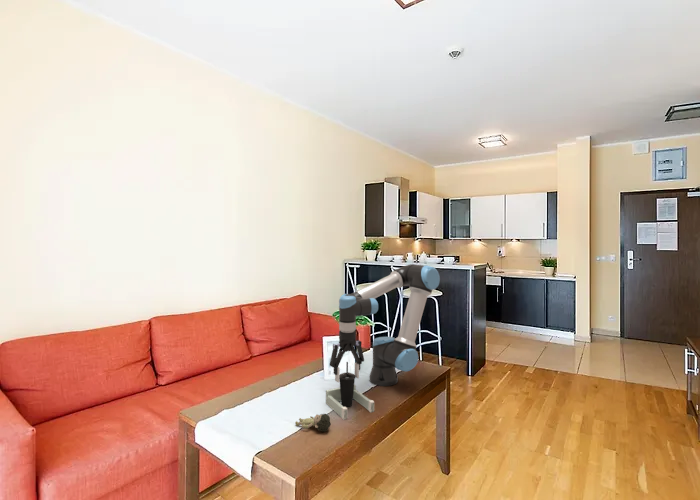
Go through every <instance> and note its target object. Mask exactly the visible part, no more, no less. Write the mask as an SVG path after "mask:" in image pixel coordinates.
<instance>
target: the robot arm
mask: <svg viewBox="0 0 700 500" xmlns="http://www.w3.org/2000/svg"><path fill="white" fill-rule="evenodd" d="M440 280H441V277H440V273H439V271H438V270H437V269H436V268H435V267H433V266H430V265H421V264H407V265H404V266H401V267H399V268H396V269H394V270H393V271H391V272H390V274H389V275H387V276H384V277H382V278H380V279H379V280H376V281H374V282H372V283H370V284H369V285H366V286H364V287H362V288H360V289H358V290H356V291H354V292H352V293H344V294H342V295H341V296H340V297H339V300H338V305H339V306H338V308H339V309H338V311H339V312H338V316H339V317H338V320H339V321H338V324H339V326H338V330H339V331H338V339H339V341H338V343H332V352H331V356H330V361H329V366H330V367H331V368H333V375H334V381H335V382H336V383H340V379H339V375H340V367H339V366H340V364H341V361H342V359H343V356H344V355H345V354H346V353H347V352H351V354H352V357H353V358H354V359H355V360H354V361H355V362H354V375H355V376H356V377H355V379H359V378H360V371H361V365H362V363H363V362H365V358H364V352H363V348H362V341H361V340H360V339H358V340H357V339H356V338H357V336H356V328H357V323H356V322H357V317H363V316H371V315H374V314H377V312H378V311H379V303H378V301H377V298H378V297H380V296H383V295H385V294H386V293H388V292H391V291H392V290H394V289H396V288H398V289H400V288H403V287H406V286H409V287H408V288H409V290H410V294H409V298H408V301H407V305H406V307H405V310H404V311H405V312H404V315H403V318H402V323H401V325H400V329H399V332H398V336H397V337H396V338H395V337H393V336H379V337H375V338H374V339H373V341H372V366H371V370H370V372H369V373H370V374H369V375H368V376H369V377H368V379H369V382H370V383H371V384H373V385H374V386H378V387H379V386H380V387H388V386H394V385H396V384H397V383H398V382H399V379H398V378H399V377H398V373H397V370H399V371H402V372H410V371H412V370H413V369H414V368H415V367H416V366H417V364H418V362H419V354H418V351H417V347H418V346H417V344H416V339H417V336H418V335H417V334H418V331H419V328H420V325H421V322H422V321H421V320H422V316H423V315H424V314H423V313H424V310H425V306H426V303H427V300H428V297H429V296H430V295H431V294H432V292H433V291H434V290H435V289H437V288H438V287H439V285H440V282H441V281H440ZM355 346H356V348H355ZM356 349H357V350H356Z"/></svg>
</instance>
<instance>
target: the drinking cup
mask: <svg viewBox="0 0 700 500" xmlns="http://www.w3.org/2000/svg"><path fill="white" fill-rule="evenodd" d="M355 380H356V376H355V373H352V372H349V362H348V361H346V370H345V372H342V373H339V387H340V392H341V401H340V402H341V403H340V404H341V405H342V406H343V407H346V408H347V409H348V408H352V407H353V400H354V399H353V392H354V384H355Z"/></svg>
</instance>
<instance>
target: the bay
mask: <svg viewBox="0 0 700 500" xmlns="http://www.w3.org/2000/svg"><path fill="white" fill-rule="evenodd" d="M356 387H357V385H356V384H355V383H354V392H353V400H355V402H357V403H359V405H361V406H362V407H363V408H365V409H366V410H367V411H368V412H369V413H374V412H375V401H374V400H373V399H370V398H368V397H367V396H366V395H365V394H363V393H361V392H360V391H359V390H357V388H356ZM340 402H341V392H340V386H339V387H336V388H330V389H326V390H325V403H326V405H328V407H330V408H331V409H332V410H333V411H334V412H335V413H336V414H337V415H338V416H339V417H340V418H341V419H342V420H344V421H345V420H348V408H346V407H343V406H342V404H341V403H340Z"/></svg>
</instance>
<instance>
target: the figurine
mask: <svg viewBox="0 0 700 500" xmlns="http://www.w3.org/2000/svg"><path fill="white" fill-rule="evenodd" d="M298 420H299V421H298ZM298 420H296V421H295V426H296V427H299V426H300V427H301V428H303V429H307V430H308V429H309V428H311V427H315V429H316V430H317V431H319V432H323V433H324V432H327V431H329V429H330V427H331V423H332V422H331V417H330V415H328V414H327V413H321V414H316V415H315V416H314V417H313V416H310V418H309V417H308V418H300V417H299V419H298Z"/></svg>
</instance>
